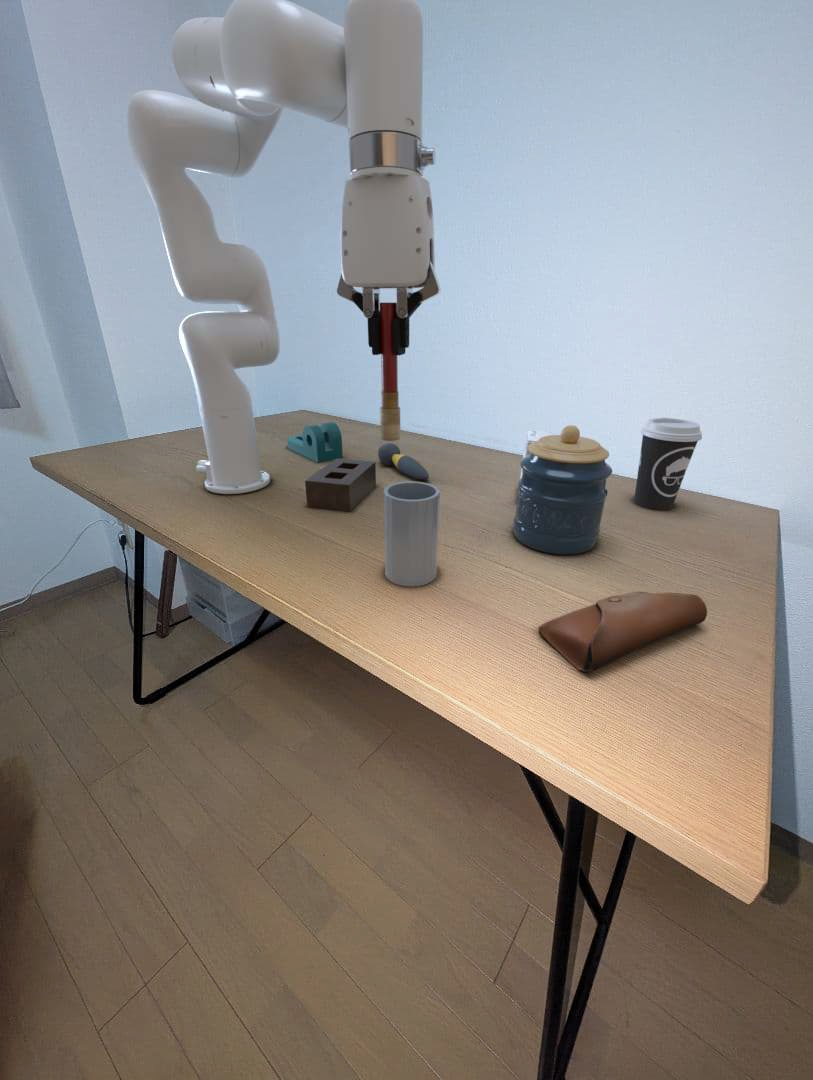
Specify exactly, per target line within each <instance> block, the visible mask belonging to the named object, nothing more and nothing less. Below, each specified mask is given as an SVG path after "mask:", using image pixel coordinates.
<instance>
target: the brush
mask: <svg viewBox="0 0 813 1080" xmlns="http://www.w3.org/2000/svg"><path fill="white" fill-rule="evenodd" d="M396 312H397V302H380V333H381V354H380V367H381V368H380V369H381V375H380V376H381V391H380V395H381V396H380V401H381V403H380V404H381V406H380V407H379V421H380V425H379V426H380V428H379V429H380V440H381V441H385V442H386V441H387V442H395V441H399V440H401V407H400V406H399V405H400V404H399V403H400V399H399V398H400V395H399V394H400V393H399V386H398V385H399V383H398V382H399V381H398V380H399V377H398V375H399V374H398V372H399V371H398V355H395V354H393V320H394V318H396Z"/></svg>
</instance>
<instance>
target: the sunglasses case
mask: <svg viewBox="0 0 813 1080" xmlns="http://www.w3.org/2000/svg"><path fill="white" fill-rule="evenodd" d="M707 617H708V609H707V605H706V604H705V601H704V600H703V599H702V598H701V597H700V596H699V595H697V594H693V593H683V592H682V593H680V592H647V591H632V592H628V593H624V594H617V595H611V596H607V597H604V598H602V599H599V600H597V601H596V603H594V604H591V605H588V606H585V607H582V608H579V609H576V610H573V611H571V612H568V613H565V614H563V615H560V616H558V617H555V618H551V620H548V621H546V622H544V623H542V624H541V625H539V626H538V633H539V634H540V635H541V636H542V637H543V638H544V640H545V641H547V643H548V644H549V645H550V646H551V647H552V648H553V649H554V650H555V651H556V652H557V653H558V654H559V655H560V656H562V657H563V658H564V659H565V660H566V661H567V662H568V663H569V664H570V665H571V666H573V668H575V669H576V670H577V671H579V672H583V673H588V672H591V671H595V670H598V669H600V668H602V667H604V666H607V665H609V664H610V663H611V664H612V662H614V661H616V660H618V659H620V658H623V657H624V656H626V655H629V654H631V653H633V652H635V651H637V650H639V649H641V648H644V647H646V646H648V645H651V644H653V643H656V642H659V641H661V640H662V639H664V638H667V637H670V636H672V635H675V634H677V633H680V632H682V631H684V630H686V629H690V628H692V627H694V626H697V625H699V624H702V623H704V622H705V621H706V619H707Z"/></svg>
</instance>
